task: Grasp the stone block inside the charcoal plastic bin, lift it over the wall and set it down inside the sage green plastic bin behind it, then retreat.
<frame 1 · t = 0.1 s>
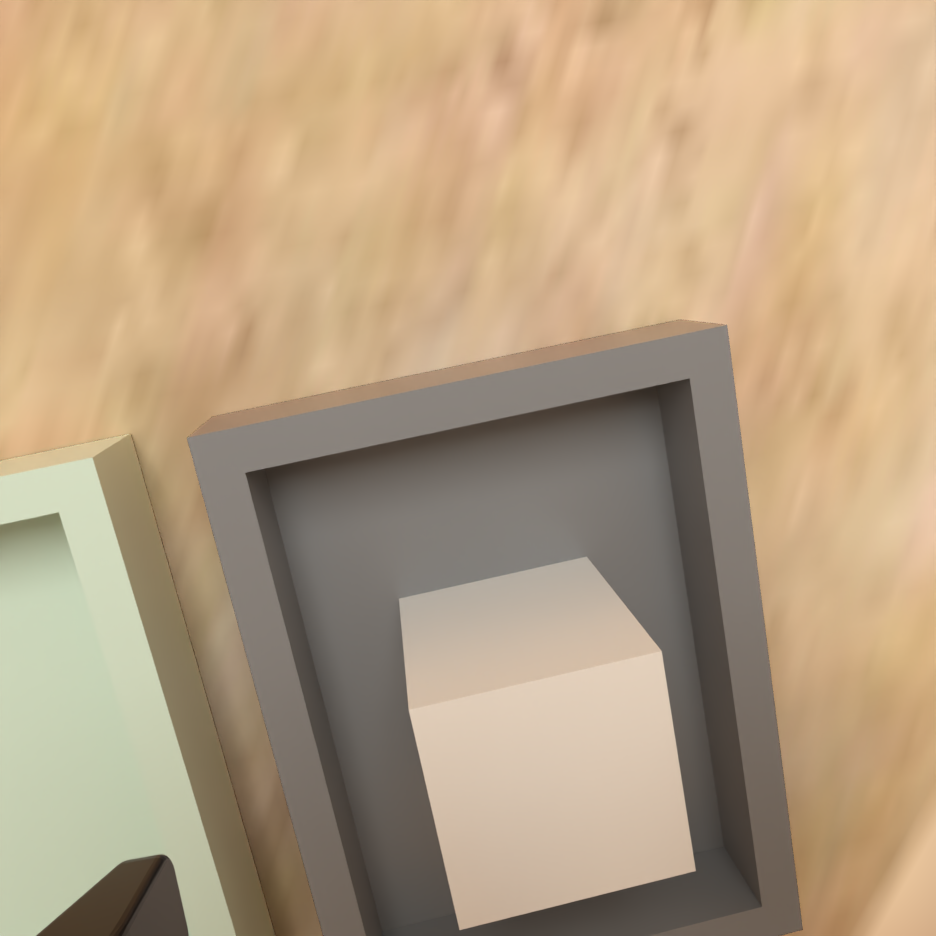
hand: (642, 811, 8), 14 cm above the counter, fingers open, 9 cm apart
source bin: (507, 656, 24), on the counter
stone block: (510, 664, 23), resting on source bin
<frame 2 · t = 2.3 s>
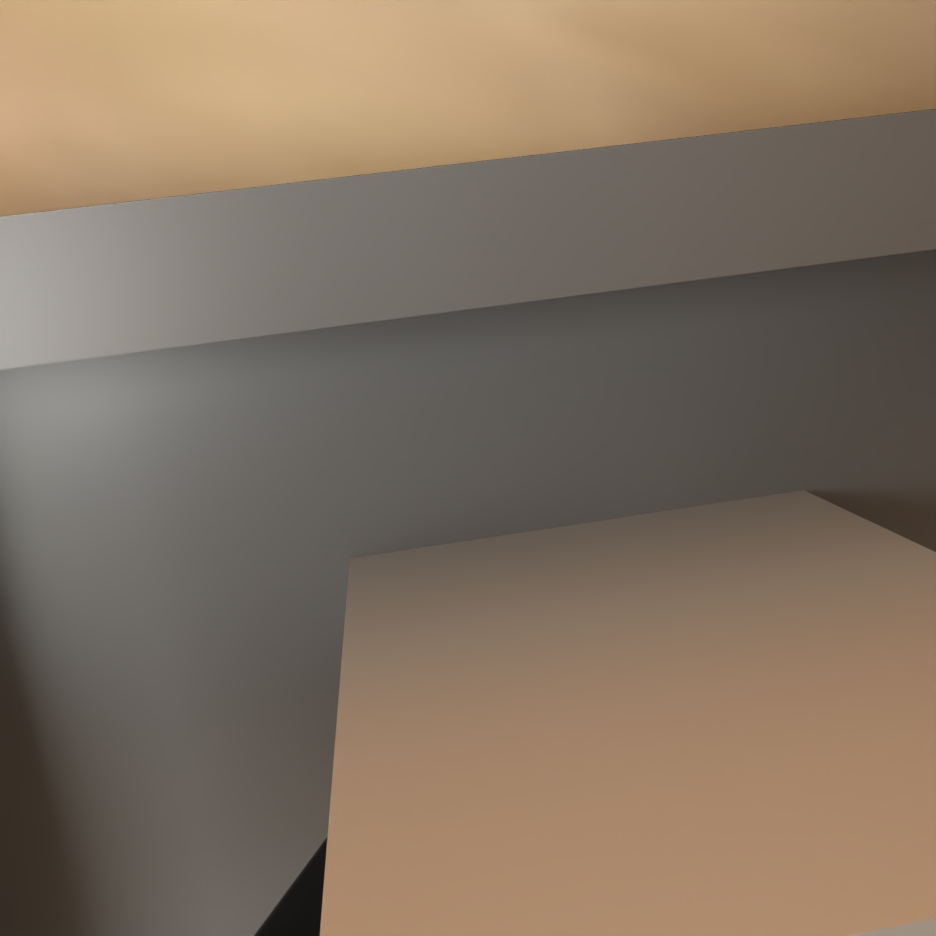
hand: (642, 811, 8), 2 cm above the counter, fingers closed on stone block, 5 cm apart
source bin: (591, 712, 10), on the counter
stone block: (602, 733, 10), resting on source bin, touching gripper
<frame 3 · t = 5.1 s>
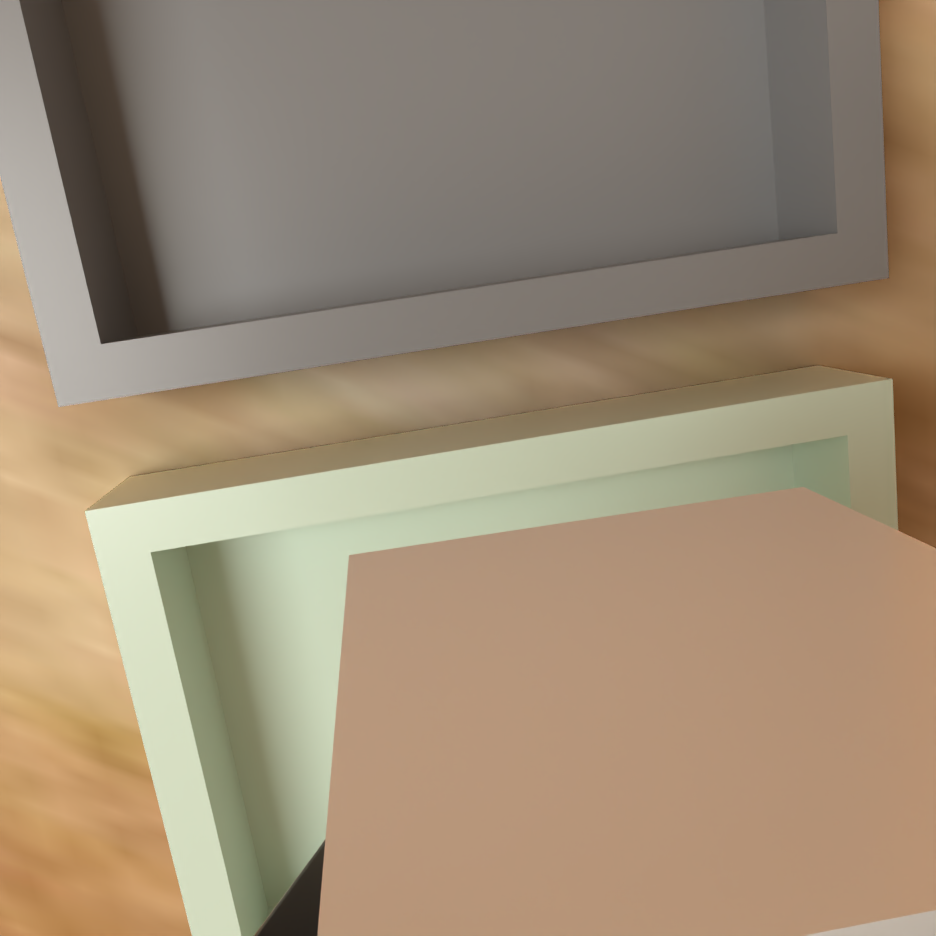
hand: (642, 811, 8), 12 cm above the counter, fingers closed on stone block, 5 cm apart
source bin: (429, 43, 18), on the counter
stone block: (601, 730, 10), point 11 cm above the counter, touching gripper
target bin: (518, 660, 21), on the counter
when the fingers open (3 cm above the counter, at t = 7.9 s): stone block drops 1 cm, resting on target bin.
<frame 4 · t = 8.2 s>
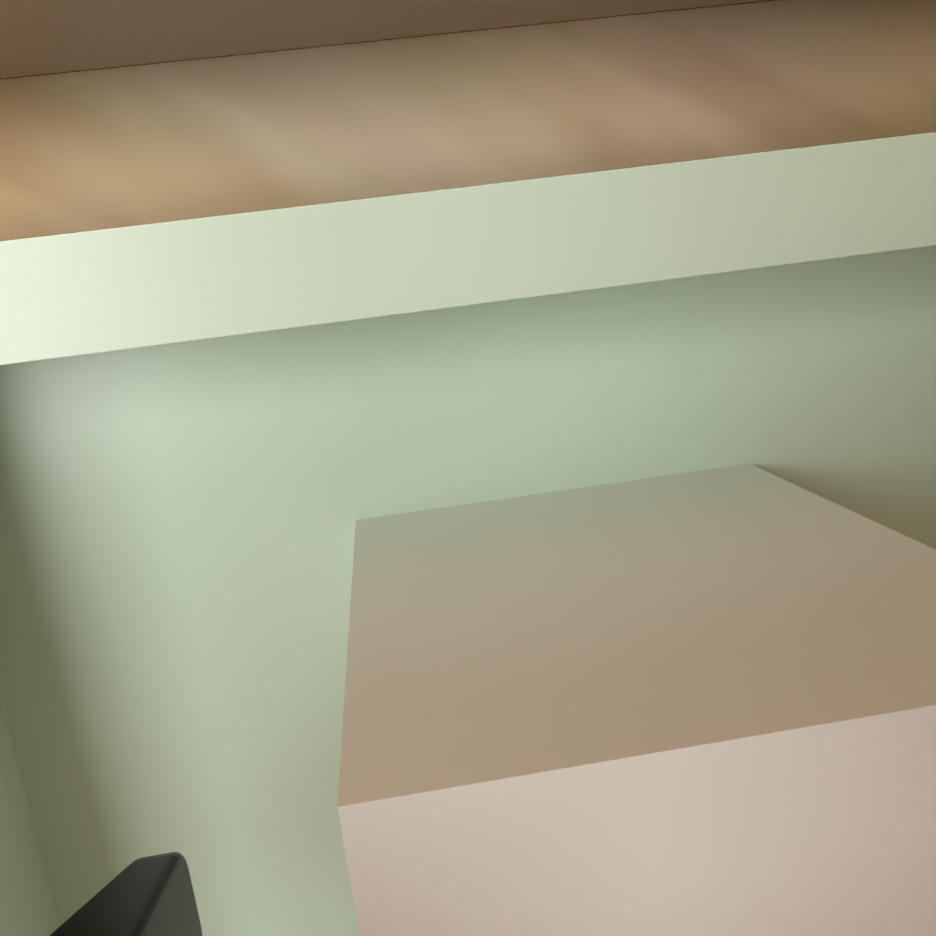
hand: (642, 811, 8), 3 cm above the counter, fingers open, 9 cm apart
stone block: (575, 676, 11), resting on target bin
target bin: (563, 662, 12), on the counter
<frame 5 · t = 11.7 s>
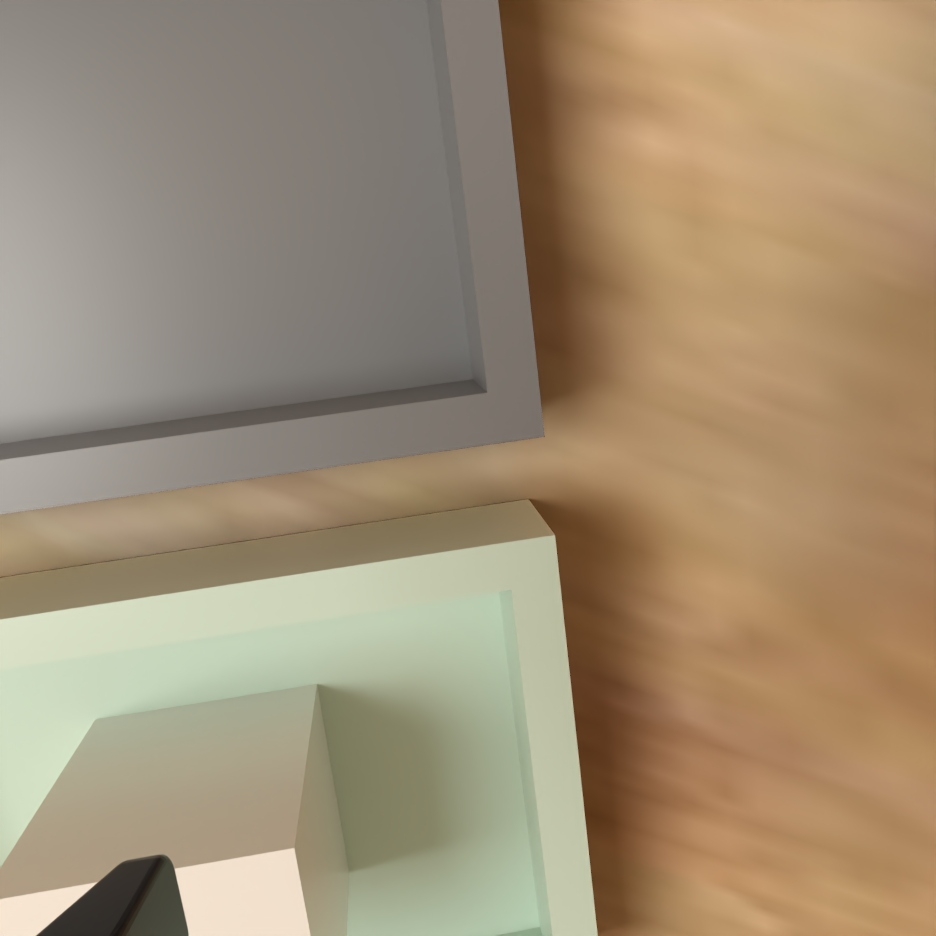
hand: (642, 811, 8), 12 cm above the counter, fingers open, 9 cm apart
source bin: (103, 181, 18), on the counter
stone block: (226, 798, 20), resting on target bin
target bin: (228, 787, 21), on the counter
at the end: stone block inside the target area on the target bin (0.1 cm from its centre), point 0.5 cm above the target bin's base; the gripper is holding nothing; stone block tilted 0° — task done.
